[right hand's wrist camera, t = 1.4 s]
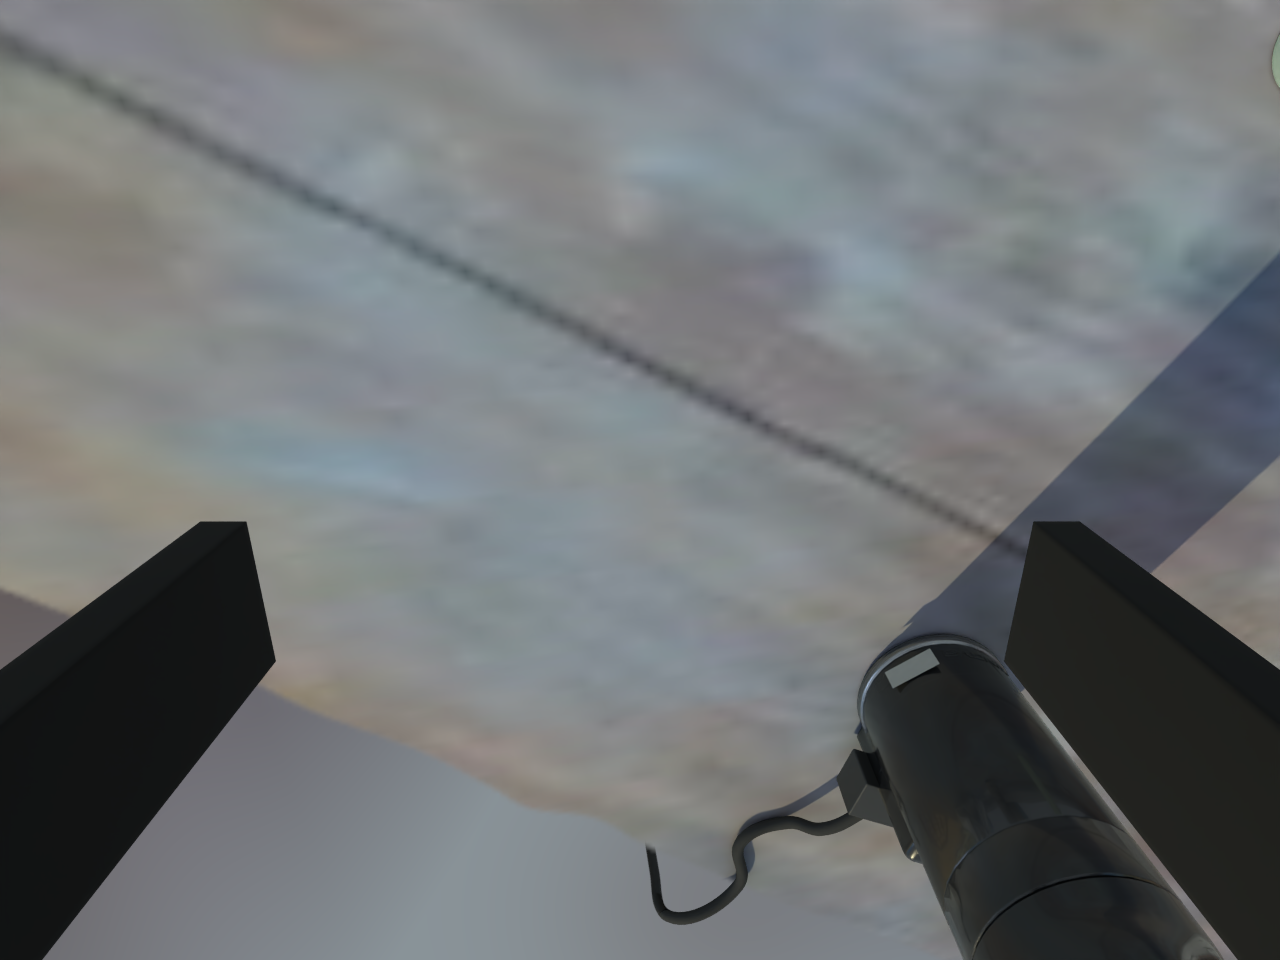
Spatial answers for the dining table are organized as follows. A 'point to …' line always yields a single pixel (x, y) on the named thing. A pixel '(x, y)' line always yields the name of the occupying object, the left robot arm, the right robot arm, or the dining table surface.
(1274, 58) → the bottle
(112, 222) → the dining table surface
